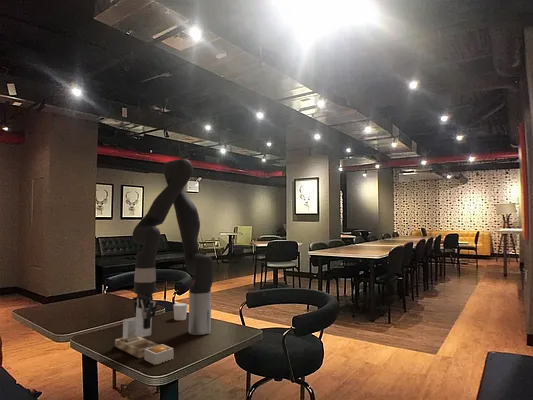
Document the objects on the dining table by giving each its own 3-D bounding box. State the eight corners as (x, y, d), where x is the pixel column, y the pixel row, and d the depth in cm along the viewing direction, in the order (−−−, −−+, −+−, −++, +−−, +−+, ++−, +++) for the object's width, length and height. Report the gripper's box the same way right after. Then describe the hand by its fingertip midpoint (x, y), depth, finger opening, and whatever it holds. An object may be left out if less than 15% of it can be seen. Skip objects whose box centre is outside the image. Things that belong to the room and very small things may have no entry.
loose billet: (135, 335, 128) (136, 307, 129) (145, 332, 131) (146, 305, 132) (141, 337, 126) (141, 308, 126) (151, 334, 129) (151, 306, 129)
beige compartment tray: (114, 346, 134) (115, 339, 134) (134, 341, 140) (134, 334, 140) (139, 358, 123) (139, 350, 123) (159, 351, 129) (159, 344, 129)
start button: (148, 355, 121) (148, 348, 122) (161, 351, 125) (161, 344, 125) (156, 358, 118) (156, 351, 118) (169, 354, 122) (169, 347, 122)
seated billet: (122, 346, 134) (123, 319, 135) (132, 343, 138) (133, 317, 138) (127, 348, 132) (128, 321, 133) (137, 345, 135) (138, 319, 136)
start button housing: (144, 359, 121) (144, 349, 121) (162, 353, 127) (162, 344, 127) (155, 365, 117) (155, 354, 117) (173, 358, 122) (173, 348, 122)
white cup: (188, 316, 176) (188, 302, 177) (185, 320, 170) (186, 305, 170) (174, 316, 176) (175, 302, 177) (171, 320, 169) (171, 306, 170)
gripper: (126, 279, 132) (124, 325, 131) (146, 283, 122) (144, 333, 121) (144, 276, 137) (143, 321, 136) (164, 280, 128) (163, 329, 127)
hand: (143, 327), depth 129 cm, fingers closed on loose billet, 4 cm apart
